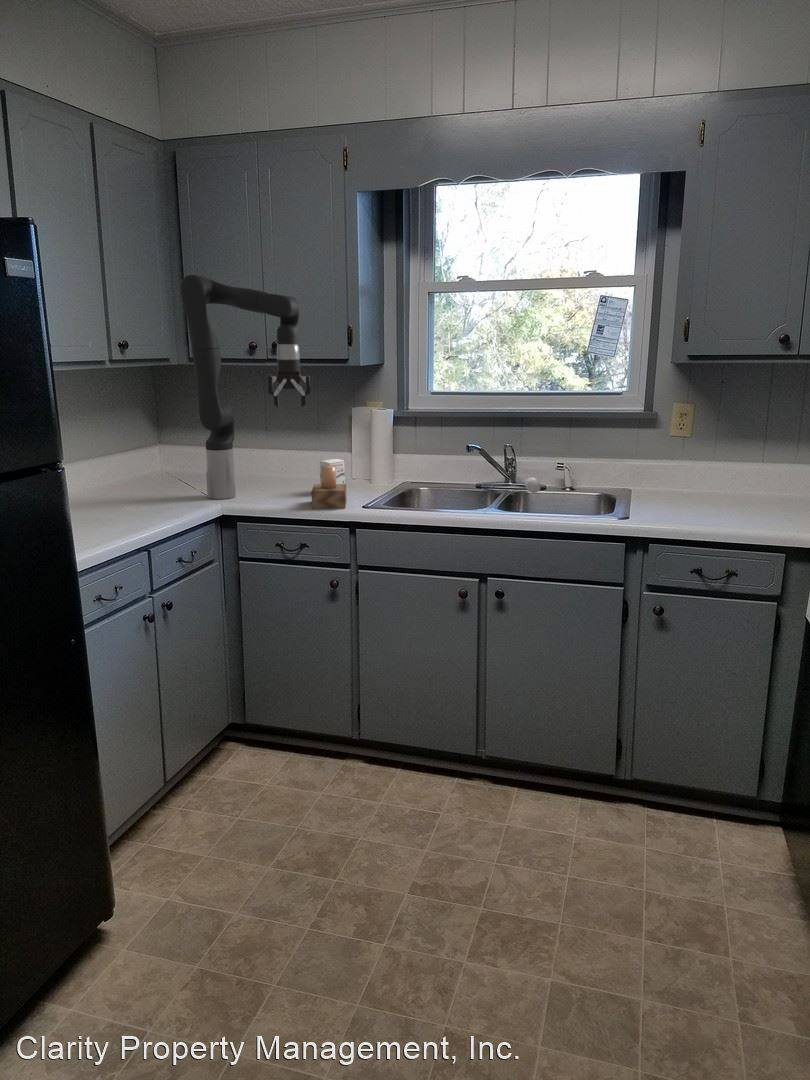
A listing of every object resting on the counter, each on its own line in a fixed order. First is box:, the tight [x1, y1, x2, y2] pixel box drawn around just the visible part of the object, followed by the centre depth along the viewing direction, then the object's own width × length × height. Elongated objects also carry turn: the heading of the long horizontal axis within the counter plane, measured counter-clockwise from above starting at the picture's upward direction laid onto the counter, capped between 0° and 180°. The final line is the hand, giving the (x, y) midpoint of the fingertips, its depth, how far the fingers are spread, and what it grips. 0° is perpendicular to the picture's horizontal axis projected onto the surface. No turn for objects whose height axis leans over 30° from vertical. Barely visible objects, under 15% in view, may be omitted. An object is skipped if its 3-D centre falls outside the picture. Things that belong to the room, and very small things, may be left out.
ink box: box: [319, 458, 346, 484], centre depth 289 cm, size 9×5×12 cm, turn 143°
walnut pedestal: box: [310, 483, 348, 510], centre depth 269 cm, size 11×12×6 cm
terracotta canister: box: [321, 466, 336, 489], centre depth 267 cm, size 5×5×7 cm
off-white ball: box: [523, 476, 542, 494], centre depth 290 cm, size 5×5×5 cm
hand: (290, 407), depth 271 cm, fingers open, 8 cm apart
